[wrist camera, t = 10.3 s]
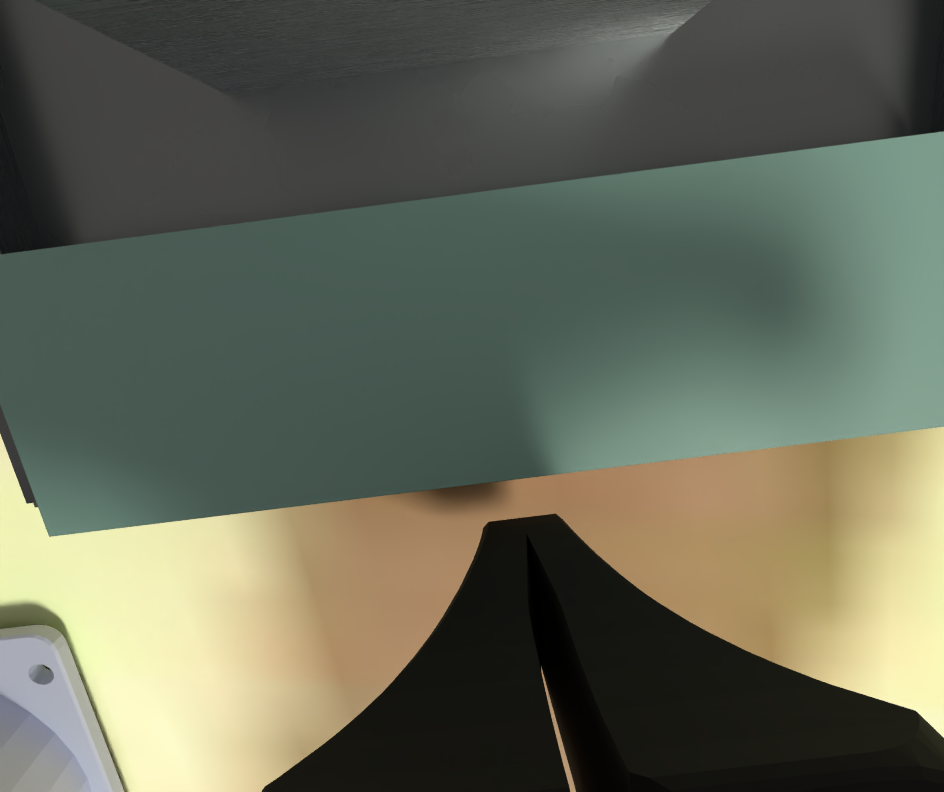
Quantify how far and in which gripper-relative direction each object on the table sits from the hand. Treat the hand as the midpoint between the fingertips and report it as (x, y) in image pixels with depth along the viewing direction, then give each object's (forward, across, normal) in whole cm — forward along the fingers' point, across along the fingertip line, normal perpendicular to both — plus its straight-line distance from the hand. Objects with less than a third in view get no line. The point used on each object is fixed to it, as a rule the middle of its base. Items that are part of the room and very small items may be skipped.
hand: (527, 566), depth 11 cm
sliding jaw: (+1, 0, -4) cm, 4 cm away
